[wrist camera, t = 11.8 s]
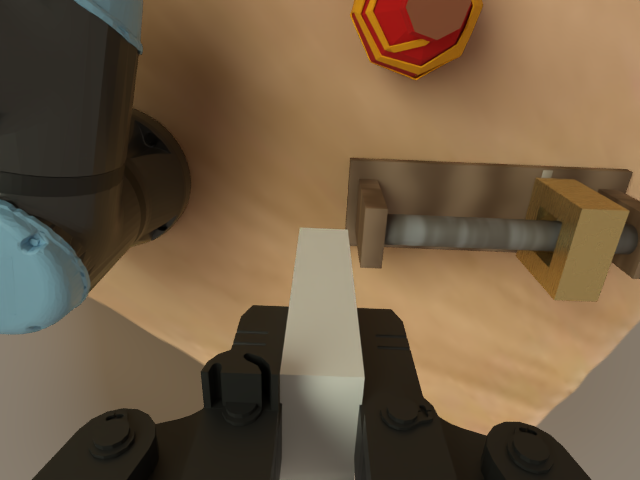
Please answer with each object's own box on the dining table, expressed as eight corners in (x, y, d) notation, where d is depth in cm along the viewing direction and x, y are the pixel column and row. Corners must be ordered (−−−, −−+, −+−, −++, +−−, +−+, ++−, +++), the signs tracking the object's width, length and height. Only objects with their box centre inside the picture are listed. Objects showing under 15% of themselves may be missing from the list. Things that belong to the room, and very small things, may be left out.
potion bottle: (401, 95, 45) (435, 120, 31) (325, 20, 42) (325, 13, 28) (481, 6, 41) (558, -8, 28) (403, -81, 39) (446, -145, 25)
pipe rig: (344, 241, 52) (348, 285, 43) (350, 157, 47) (356, 186, 38) (598, 252, 52) (656, 297, 43) (626, 169, 48) (697, 200, 39)
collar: (515, 256, 49) (554, 299, 41) (535, 177, 45) (582, 208, 37) (551, 257, 49) (597, 301, 41) (574, 179, 45) (629, 210, 37)
